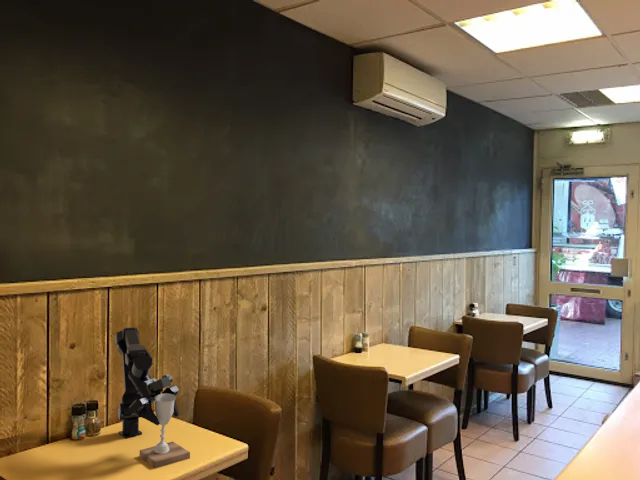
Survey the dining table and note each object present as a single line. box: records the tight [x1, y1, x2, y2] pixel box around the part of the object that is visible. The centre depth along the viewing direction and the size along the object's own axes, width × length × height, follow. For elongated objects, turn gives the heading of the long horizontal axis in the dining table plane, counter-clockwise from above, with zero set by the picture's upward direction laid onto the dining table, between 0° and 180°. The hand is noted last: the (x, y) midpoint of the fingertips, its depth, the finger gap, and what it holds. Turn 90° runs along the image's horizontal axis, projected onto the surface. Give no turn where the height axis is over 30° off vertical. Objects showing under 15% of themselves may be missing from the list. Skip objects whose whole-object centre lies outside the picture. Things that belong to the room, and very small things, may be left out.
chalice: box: [154, 393, 177, 454], centre depth 182 cm, size 7×7×18 cm
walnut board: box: [139, 441, 191, 469], centre depth 182 cm, size 12×12×2 cm
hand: (168, 420), depth 181 cm, fingers open, 9 cm apart
